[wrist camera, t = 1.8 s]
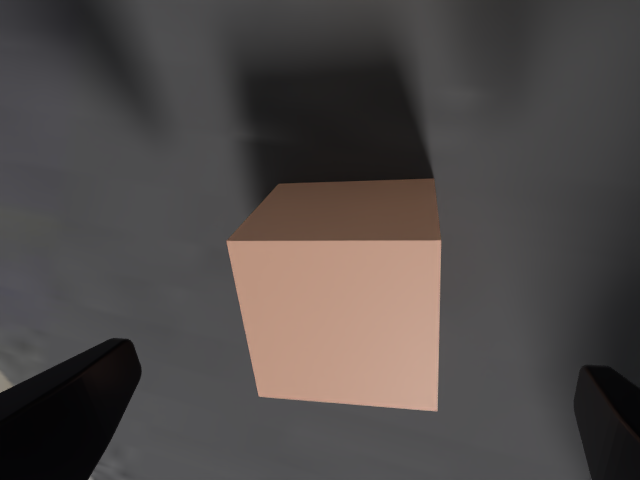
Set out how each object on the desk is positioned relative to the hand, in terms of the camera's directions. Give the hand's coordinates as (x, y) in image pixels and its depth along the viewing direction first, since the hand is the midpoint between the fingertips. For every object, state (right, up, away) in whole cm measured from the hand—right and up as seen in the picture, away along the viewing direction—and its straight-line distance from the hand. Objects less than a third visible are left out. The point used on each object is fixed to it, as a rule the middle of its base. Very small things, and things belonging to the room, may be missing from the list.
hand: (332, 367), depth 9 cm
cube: (+1, +2, +5) cm, 5 cm away
